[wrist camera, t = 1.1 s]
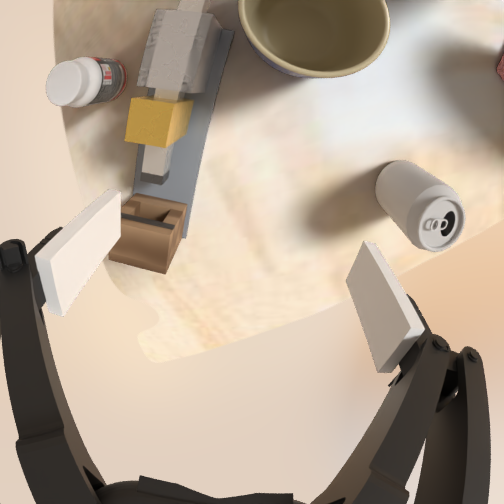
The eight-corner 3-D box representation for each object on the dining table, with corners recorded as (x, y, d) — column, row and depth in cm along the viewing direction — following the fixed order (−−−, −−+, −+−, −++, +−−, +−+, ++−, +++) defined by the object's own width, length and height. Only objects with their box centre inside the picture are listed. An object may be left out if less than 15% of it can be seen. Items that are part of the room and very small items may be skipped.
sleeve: (177, 24, 25) (156, 8, 18) (223, 29, 26) (213, 13, 19) (161, 85, 29) (136, 85, 22) (205, 92, 30) (190, 93, 23)
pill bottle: (124, 52, 26) (81, 45, 18) (133, 93, 29) (91, 98, 21) (86, 69, 27) (38, 71, 18) (94, 108, 30) (48, 119, 21)
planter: (331, 98, 30) (362, 103, 20) (228, 60, 28) (214, 46, 18) (366, 14, 23) (406, -8, 14) (266, -25, 21) (268, -66, 12)
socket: (138, 189, 36) (108, 219, 28) (188, 200, 37) (170, 233, 29) (135, 224, 38) (108, 259, 31) (182, 235, 39) (165, 274, 32)
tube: (189, -9, 21) (169, -33, 14) (224, -5, 22) (214, -31, 15) (147, 168, 32) (119, 191, 26) (178, 175, 33) (157, 200, 26)
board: (167, 23, 25) (165, 22, 24) (234, 31, 26) (234, 30, 25) (132, 223, 38) (130, 225, 38) (186, 236, 39) (185, 238, 39)
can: (415, 213, 37) (458, 258, 26) (368, 209, 37) (405, 258, 26) (425, 162, 33) (478, 195, 22) (376, 154, 33) (423, 186, 22)
